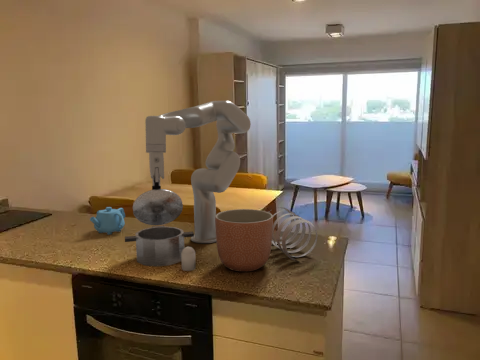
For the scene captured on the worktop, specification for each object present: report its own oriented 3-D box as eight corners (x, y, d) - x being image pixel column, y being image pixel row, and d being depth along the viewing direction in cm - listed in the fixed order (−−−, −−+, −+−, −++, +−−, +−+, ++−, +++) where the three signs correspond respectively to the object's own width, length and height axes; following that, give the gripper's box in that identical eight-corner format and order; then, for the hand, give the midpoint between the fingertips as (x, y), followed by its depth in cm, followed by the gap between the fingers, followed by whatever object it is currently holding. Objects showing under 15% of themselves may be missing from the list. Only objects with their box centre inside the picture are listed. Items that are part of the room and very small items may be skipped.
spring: (263, 244, 186) (290, 269, 158) (254, 211, 182) (280, 231, 154) (294, 232, 190) (327, 254, 161) (286, 200, 186) (318, 216, 158)
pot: (190, 246, 178) (189, 223, 177) (197, 262, 159) (196, 236, 158) (126, 251, 172) (124, 227, 170) (125, 269, 153) (124, 242, 151)
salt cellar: (194, 265, 157) (194, 244, 155) (196, 270, 152) (196, 248, 151) (180, 266, 155) (180, 245, 154) (182, 271, 151) (182, 249, 149)
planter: (255, 253, 170) (255, 206, 167) (283, 270, 151) (284, 218, 148) (207, 261, 160) (206, 212, 157) (231, 281, 142) (230, 225, 139)
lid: (181, 223, 175) (180, 218, 177) (183, 189, 162) (183, 184, 164) (133, 226, 170) (133, 221, 172) (132, 192, 157) (131, 187, 159)
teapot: (112, 224, 213) (111, 201, 211) (137, 229, 205) (135, 205, 203) (79, 234, 196) (77, 209, 194) (104, 240, 188) (103, 214, 186)
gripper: (167, 149, 155) (167, 199, 157) (164, 147, 169) (164, 192, 172) (146, 150, 153) (147, 200, 156) (145, 147, 168) (146, 193, 170)
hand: (156, 196), depth 164 cm, fingers closed
